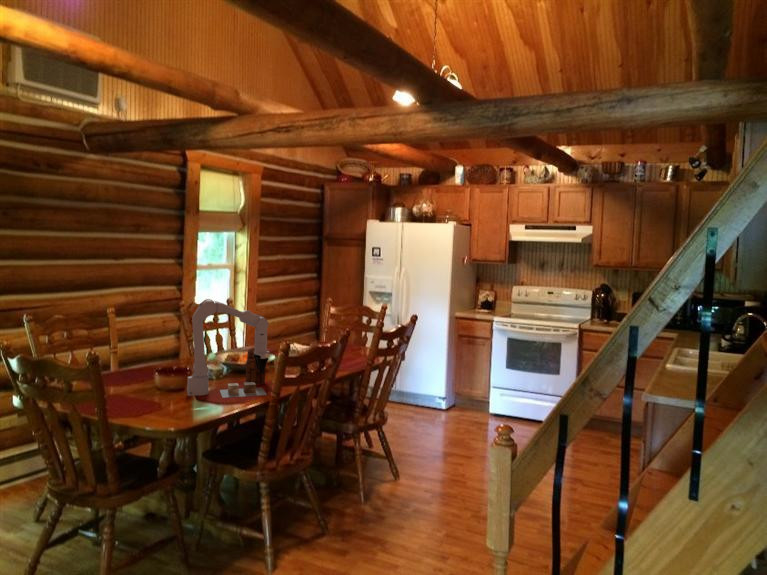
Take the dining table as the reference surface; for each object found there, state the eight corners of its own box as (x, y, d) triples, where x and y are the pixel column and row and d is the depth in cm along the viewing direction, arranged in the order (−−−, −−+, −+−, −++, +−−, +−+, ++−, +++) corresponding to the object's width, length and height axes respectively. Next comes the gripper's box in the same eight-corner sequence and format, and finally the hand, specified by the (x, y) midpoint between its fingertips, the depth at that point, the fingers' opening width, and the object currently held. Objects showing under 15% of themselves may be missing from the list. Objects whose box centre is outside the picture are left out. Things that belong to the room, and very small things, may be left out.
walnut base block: (244, 393, 288) (244, 385, 287) (243, 391, 292) (243, 382, 292) (255, 393, 290) (255, 384, 289) (254, 390, 294) (254, 382, 294)
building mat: (222, 399, 280) (222, 397, 280) (219, 391, 293) (219, 389, 293) (267, 396, 287) (267, 394, 287) (262, 389, 300) (262, 387, 300)
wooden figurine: (241, 383, 310) (241, 347, 308) (249, 381, 315) (249, 346, 314) (259, 386, 304) (260, 350, 302) (268, 384, 310) (268, 348, 308)
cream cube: (228, 394, 286) (228, 385, 285) (227, 392, 290) (227, 383, 289) (238, 393, 287) (238, 385, 287) (237, 391, 291) (237, 383, 291)
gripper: (272, 344, 288) (271, 373, 289) (266, 339, 302) (266, 367, 303) (256, 345, 286) (256, 374, 287) (252, 339, 299) (251, 367, 300)
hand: (260, 370), depth 295 cm, fingers open, 7 cm apart
